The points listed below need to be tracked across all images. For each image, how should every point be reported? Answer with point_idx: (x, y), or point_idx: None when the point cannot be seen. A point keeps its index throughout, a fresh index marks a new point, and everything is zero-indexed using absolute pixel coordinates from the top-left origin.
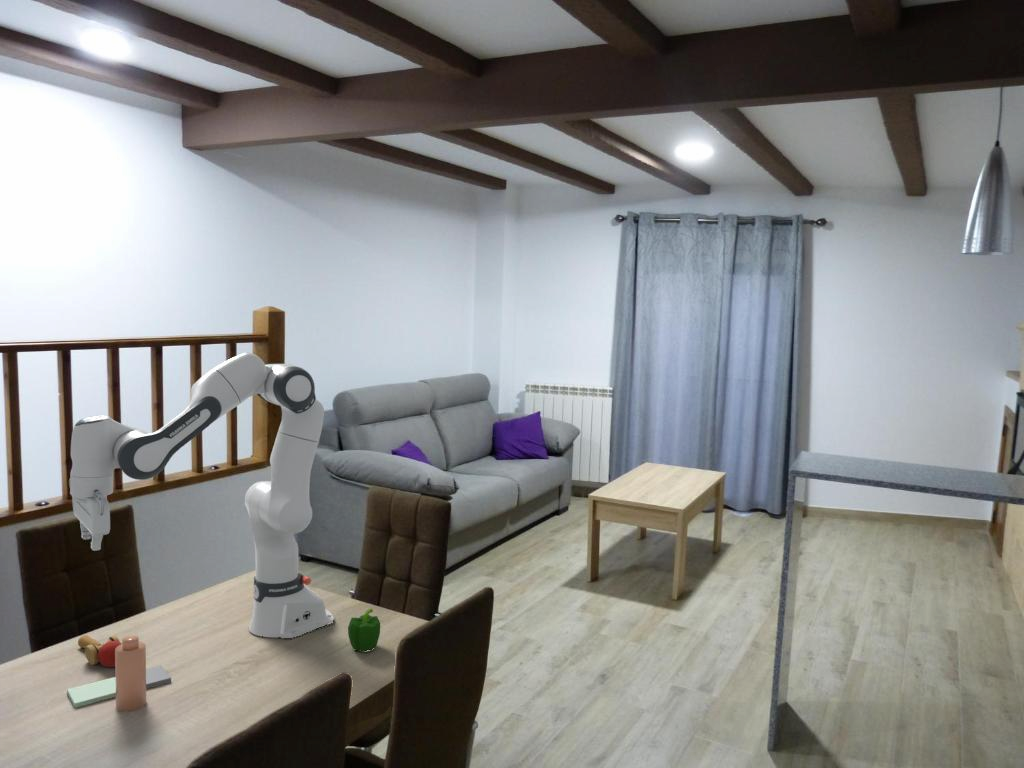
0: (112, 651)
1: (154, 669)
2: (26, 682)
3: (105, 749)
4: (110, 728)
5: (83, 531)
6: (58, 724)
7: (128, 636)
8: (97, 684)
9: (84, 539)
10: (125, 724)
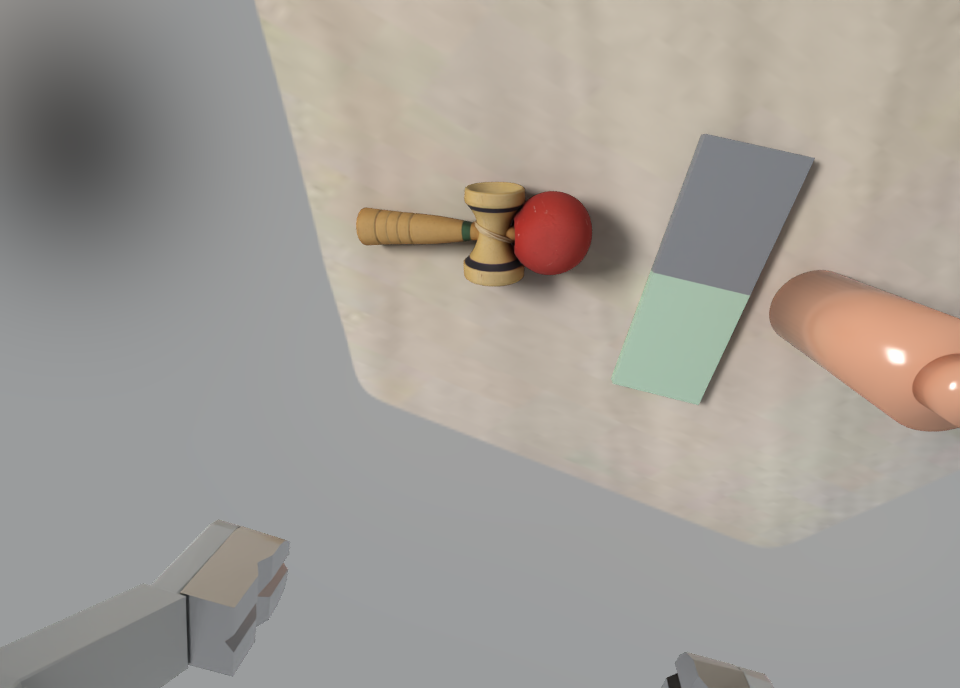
0: (582, 251)
1: (712, 166)
2: (480, 407)
3: (937, 444)
4: None
5: (186, 655)
6: (733, 451)
7: (950, 392)
8: (652, 325)
9: (284, 581)
10: None
